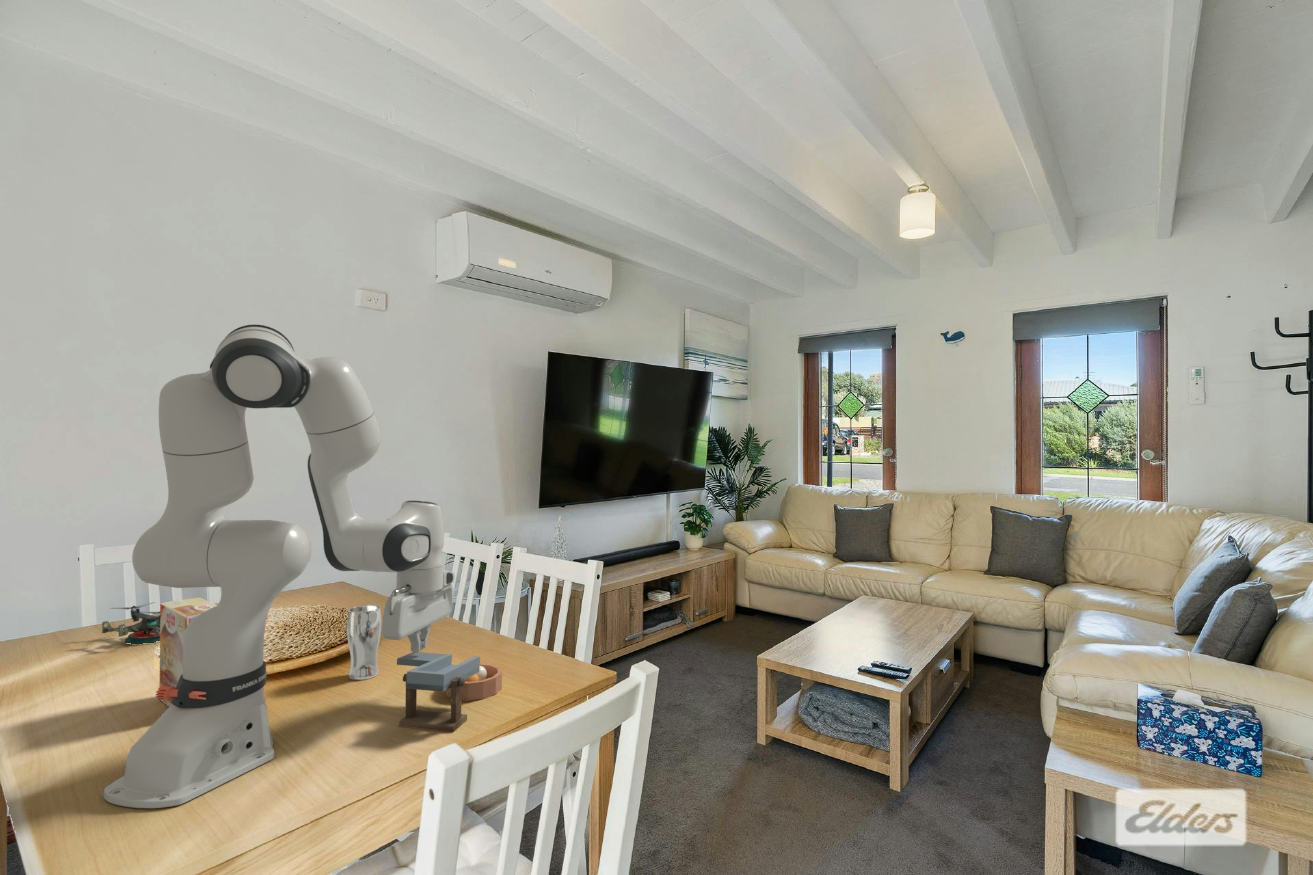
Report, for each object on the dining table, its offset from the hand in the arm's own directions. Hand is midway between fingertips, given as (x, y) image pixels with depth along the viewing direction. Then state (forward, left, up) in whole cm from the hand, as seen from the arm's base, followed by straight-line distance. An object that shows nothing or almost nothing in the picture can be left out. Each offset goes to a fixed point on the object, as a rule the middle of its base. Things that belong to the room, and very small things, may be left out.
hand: (418, 649), depth 124 cm
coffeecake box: (-9, +44, -11) cm, 46 cm away
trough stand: (-8, -8, -11) cm, 15 cm away
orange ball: (+6, -8, -8) cm, 13 cm away
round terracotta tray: (+8, -8, -11) cm, 16 cm away
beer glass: (+11, +20, -11) cm, 25 cm away
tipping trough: (-4, -4, -4) cm, 7 cm away
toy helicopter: (+21, +92, -11) cm, 95 cm away
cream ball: (+10, -8, -8) cm, 15 cm away
